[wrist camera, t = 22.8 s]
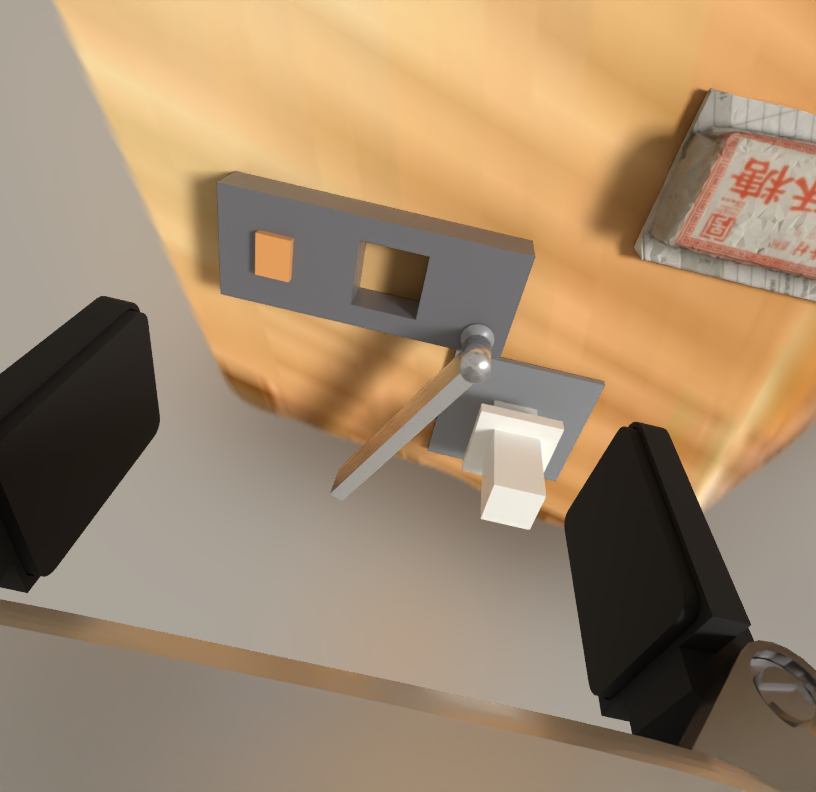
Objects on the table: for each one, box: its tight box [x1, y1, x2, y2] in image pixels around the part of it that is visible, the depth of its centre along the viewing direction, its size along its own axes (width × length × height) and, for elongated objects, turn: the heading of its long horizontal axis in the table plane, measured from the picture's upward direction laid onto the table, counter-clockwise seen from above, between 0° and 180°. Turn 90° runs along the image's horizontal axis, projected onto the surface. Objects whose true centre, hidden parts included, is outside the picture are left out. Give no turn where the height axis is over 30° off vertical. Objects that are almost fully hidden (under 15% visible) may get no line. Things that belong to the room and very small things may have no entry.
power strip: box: [217, 171, 535, 359], centre depth 37 cm, size 21×8×4 cm, turn 79°
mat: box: [428, 350, 605, 481], centre depth 44 cm, size 12×11×1 cm
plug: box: [462, 400, 564, 530], centre depth 40 cm, size 6×6×10 cm
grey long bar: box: [330, 335, 491, 501], centre depth 39 cm, size 18×2×3 cm, turn 142°
